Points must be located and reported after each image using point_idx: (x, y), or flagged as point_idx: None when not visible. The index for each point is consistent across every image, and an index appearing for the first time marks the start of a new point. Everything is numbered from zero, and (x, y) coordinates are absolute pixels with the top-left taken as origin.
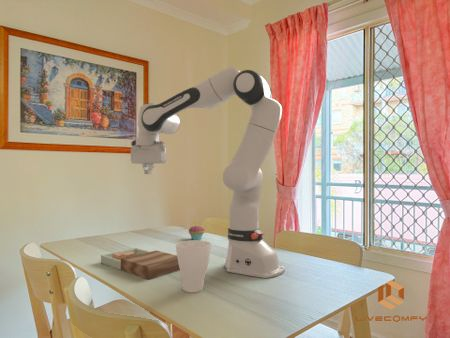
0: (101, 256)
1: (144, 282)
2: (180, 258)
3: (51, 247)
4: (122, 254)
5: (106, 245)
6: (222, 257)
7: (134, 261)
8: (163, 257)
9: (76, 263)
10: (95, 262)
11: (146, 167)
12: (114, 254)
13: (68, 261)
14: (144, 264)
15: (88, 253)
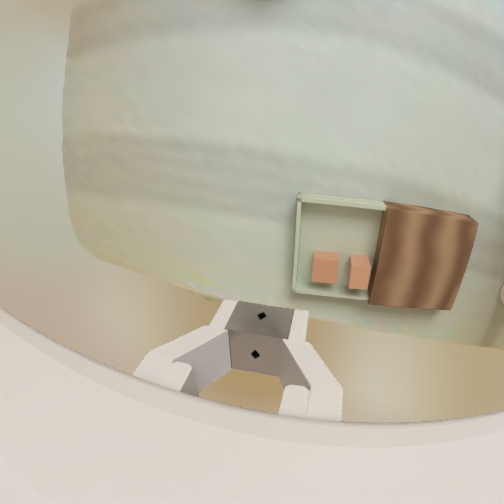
0: (293, 290)
1: None
2: None
3: (109, 259)
4: (352, 288)
5: (151, 177)
6: (483, 91)
7: (407, 302)
8: (442, 250)
9: None
10: (278, 284)
11: (199, 366)
12: (319, 281)
13: None
14: (435, 305)
15: (196, 248)
